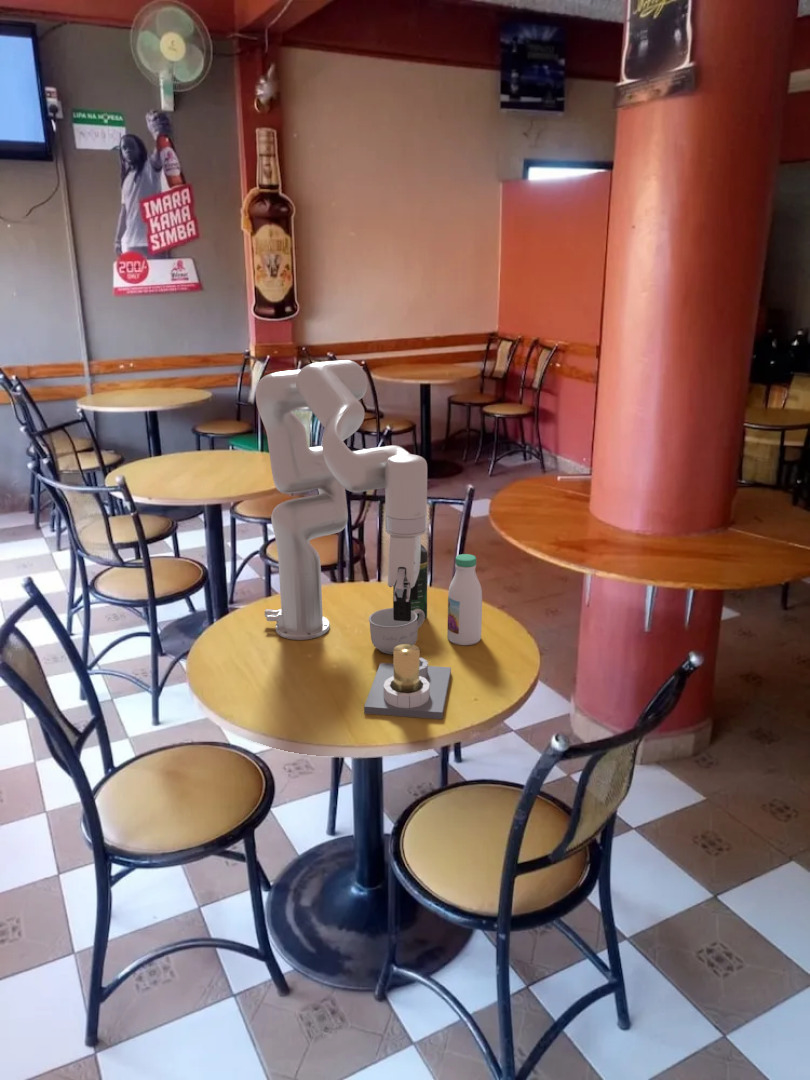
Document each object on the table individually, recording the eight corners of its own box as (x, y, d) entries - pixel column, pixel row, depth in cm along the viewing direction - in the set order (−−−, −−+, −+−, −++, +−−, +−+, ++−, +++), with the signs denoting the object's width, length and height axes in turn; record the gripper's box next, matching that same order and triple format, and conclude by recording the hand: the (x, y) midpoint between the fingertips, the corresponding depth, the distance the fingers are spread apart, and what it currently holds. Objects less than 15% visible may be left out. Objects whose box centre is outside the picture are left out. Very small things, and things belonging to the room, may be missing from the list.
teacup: (382, 663, 176) (382, 630, 174) (361, 643, 185) (360, 611, 183) (438, 650, 182) (439, 617, 180) (415, 631, 191) (415, 599, 189)
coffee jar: (430, 622, 196) (431, 549, 190) (398, 625, 194) (397, 551, 188) (421, 606, 205) (421, 536, 199) (390, 609, 203) (389, 538, 197)
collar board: (364, 713, 157) (363, 695, 156) (380, 669, 174) (380, 652, 173) (442, 719, 155) (442, 700, 154) (450, 673, 172) (451, 656, 171)
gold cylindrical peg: (391, 701, 158) (391, 654, 155) (395, 688, 163) (395, 643, 160) (417, 703, 158) (417, 656, 154) (420, 690, 162) (421, 645, 159)
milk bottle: (481, 632, 191) (483, 551, 184) (480, 647, 184) (483, 563, 177) (448, 630, 192) (449, 550, 185) (446, 645, 184) (447, 562, 178)
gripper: (393, 508, 157) (393, 590, 163) (377, 537, 141) (378, 627, 147) (432, 509, 156) (431, 592, 162) (420, 539, 140) (420, 630, 146)
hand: (406, 609), depth 154 cm, fingers open, 9 cm apart
